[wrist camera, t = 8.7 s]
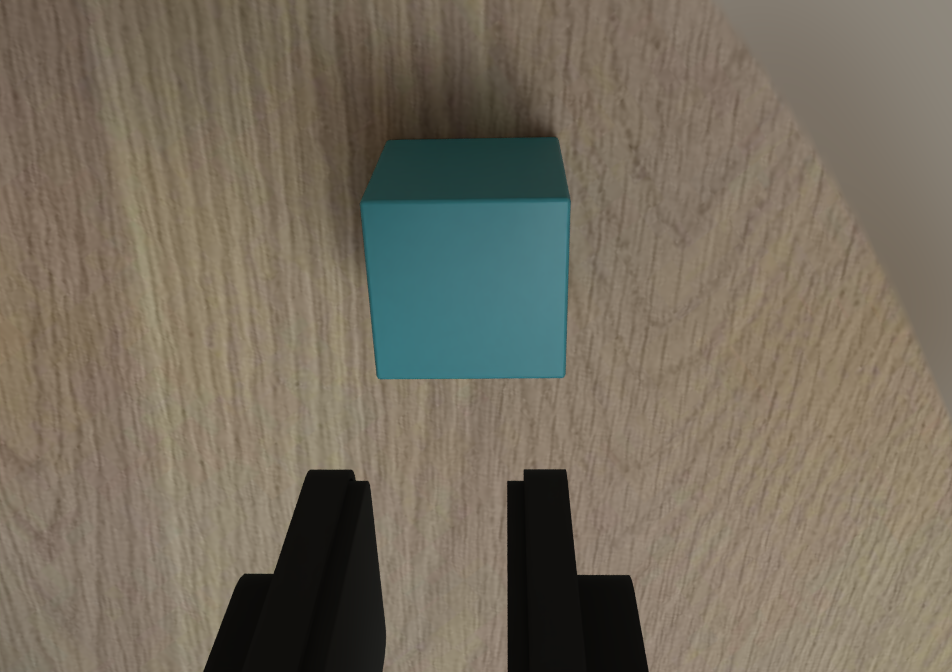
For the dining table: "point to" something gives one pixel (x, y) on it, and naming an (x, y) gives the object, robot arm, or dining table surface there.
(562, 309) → the teal block
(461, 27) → the dining table surface
